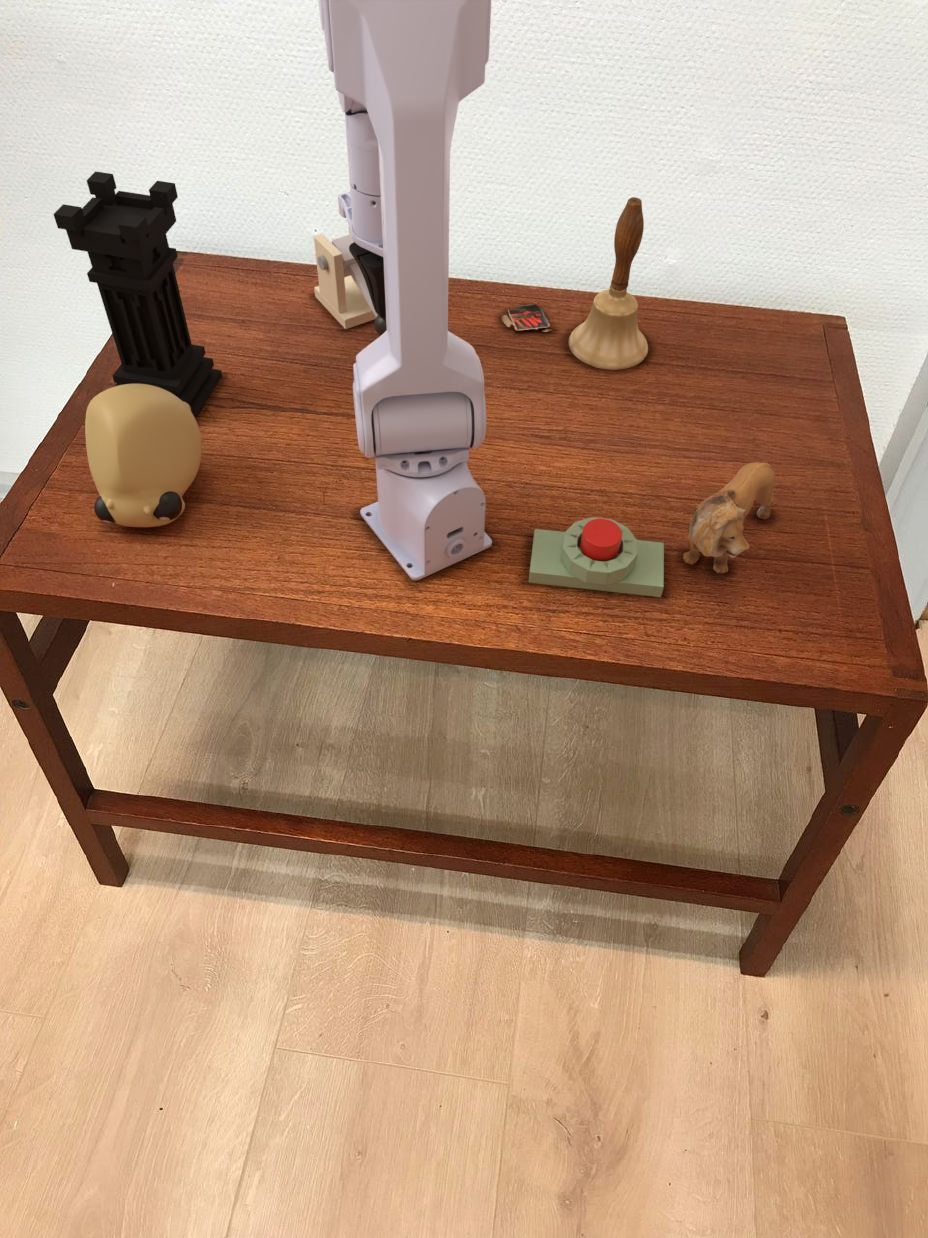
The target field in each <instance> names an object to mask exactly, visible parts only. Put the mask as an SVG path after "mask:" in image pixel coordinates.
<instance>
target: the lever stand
mask: <svg viewBox="0 0 928 1238" xmlns="http://www.w3.org/2000/svg"><path fill="white" fill-rule="evenodd" d="M350 234H351V233H350V229H349V228H348V235H350ZM313 242H314V251H315V262H316V271H317V281H318V285H316V286H314V288H313V290H314V297H315V298H316V299H317V300H318V301H319V302H320V303H321V305H322V306H323V307H324V308H325V309H326V310H327V312H329V313H330V314H331V315H332V317H333V318H335V320H336V321H337V322H338V323H339V324H340V325H341V326H342V327H343V328H344V330H347V329H350V328H353V327H357V326H360V325H362V324H365V323H368V322H371V321H375V319H376V316H375V315H374V313H373V311H372V310H371V308H370V306H369V305H368V303H367V301H366V300H365V298H364V296H363V295H362V293H361V291H360V290H359V288H358V286H357V285H356V283H355V281H354V280H353V278H352V276H351V275H347V276H344V268H343V256H342V253H341V252H340V251H339V250H338V249H337V248H336V247H335V246H334V245H333V244H332V241H330V240H329V239H328V238H327V237H326V236H325V235H324V234H323V233H319V234H316V235H314V236H313Z"/></svg>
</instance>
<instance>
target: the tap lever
mask: <svg viewBox="0 0 928 1238" xmlns="http://www.w3.org/2000/svg"><path fill="white" fill-rule="evenodd" d="M331 243H332V244H333V245H334V246H335V247H336V248H337V249H338V250H339V251H340V252H341V253H342V256H343V268H344V277H346V276H352V278H353V280H354V281H355V283H356V285H357V286H358V288H359V290H360V291H361V293H362V295H363V296H364V298H365V300H366V301H367V303H368V305H369V306H370V308H371V310H372V311H373V313H374V315H375V316H376V319H374V329H375V332H376V333H377V335H378V336H379V337H380V336H381V335H382V334H383V333H385V331H386V330H387V325H386V318H384V319H382V318H381V317H380V316H379V315H378V314H377V313H376V312H375V309H374V307H373V304H372V301H371V297H370V294H369V291H368V288H367V285H366V282H365V279H364V277H363V274H362V272H361V270H360V268H359V266H358V264H357V262H356V260H355V259H354V257H353V256H352V254H351V253H350V251H349V246H350V244H352V243H354V240H353V239H352V236H351V234H350V235H349V234H347V235H343V236H340V237H338V238H335V239H332V240H331Z"/></svg>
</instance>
